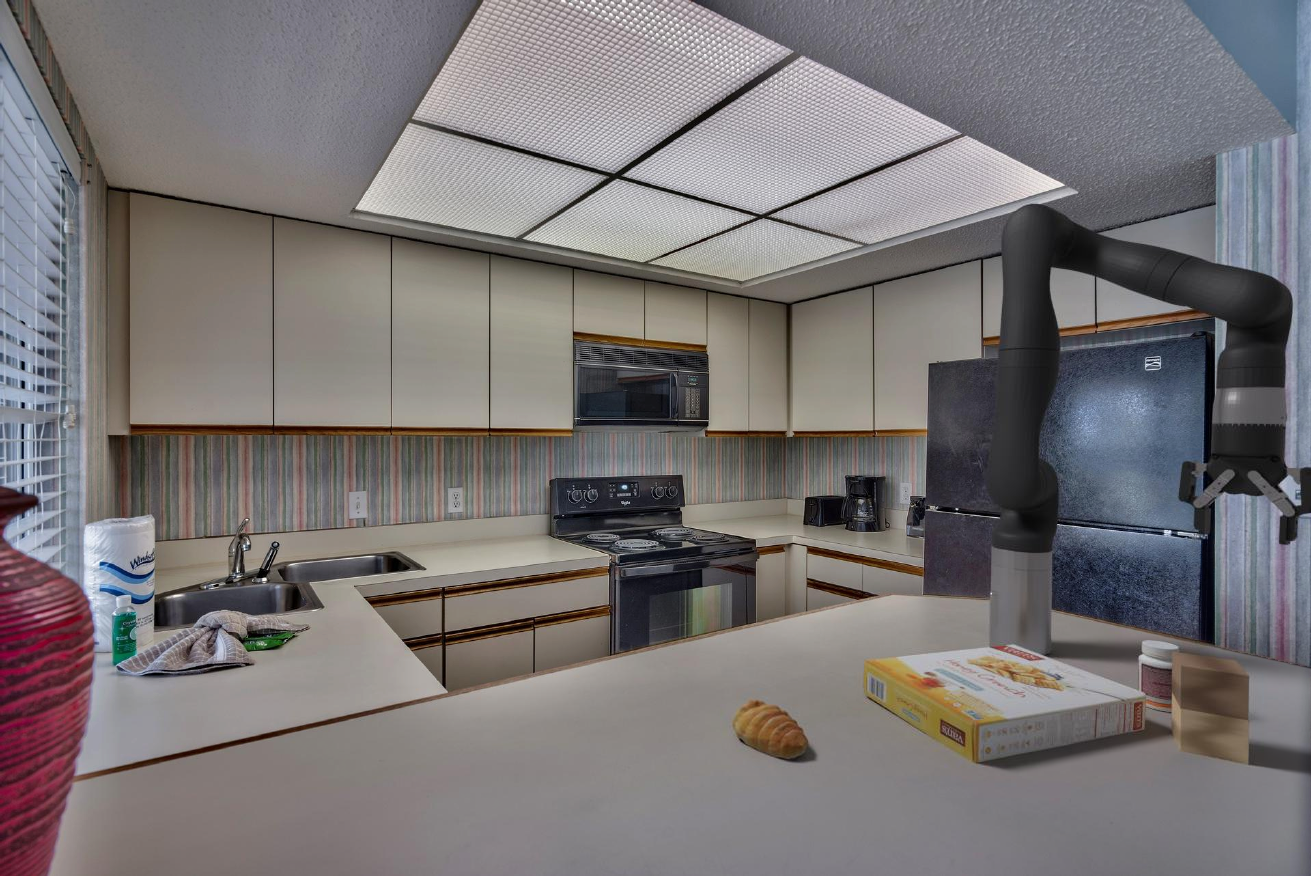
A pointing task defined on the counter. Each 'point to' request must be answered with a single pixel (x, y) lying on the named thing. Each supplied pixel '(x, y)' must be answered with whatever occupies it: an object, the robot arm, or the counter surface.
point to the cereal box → (1002, 700)
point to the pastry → (769, 730)
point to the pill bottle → (1156, 674)
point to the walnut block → (1210, 685)
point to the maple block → (1210, 734)
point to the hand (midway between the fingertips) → (1243, 539)
